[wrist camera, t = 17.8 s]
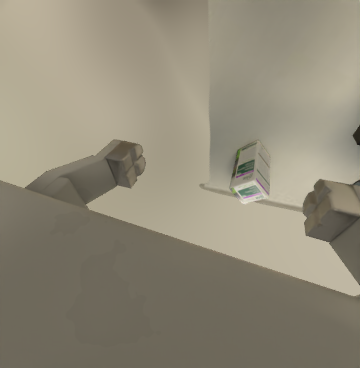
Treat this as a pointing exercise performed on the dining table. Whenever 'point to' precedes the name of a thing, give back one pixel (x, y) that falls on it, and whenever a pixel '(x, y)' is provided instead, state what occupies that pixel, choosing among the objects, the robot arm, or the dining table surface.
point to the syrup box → (251, 174)
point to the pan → (357, 136)
